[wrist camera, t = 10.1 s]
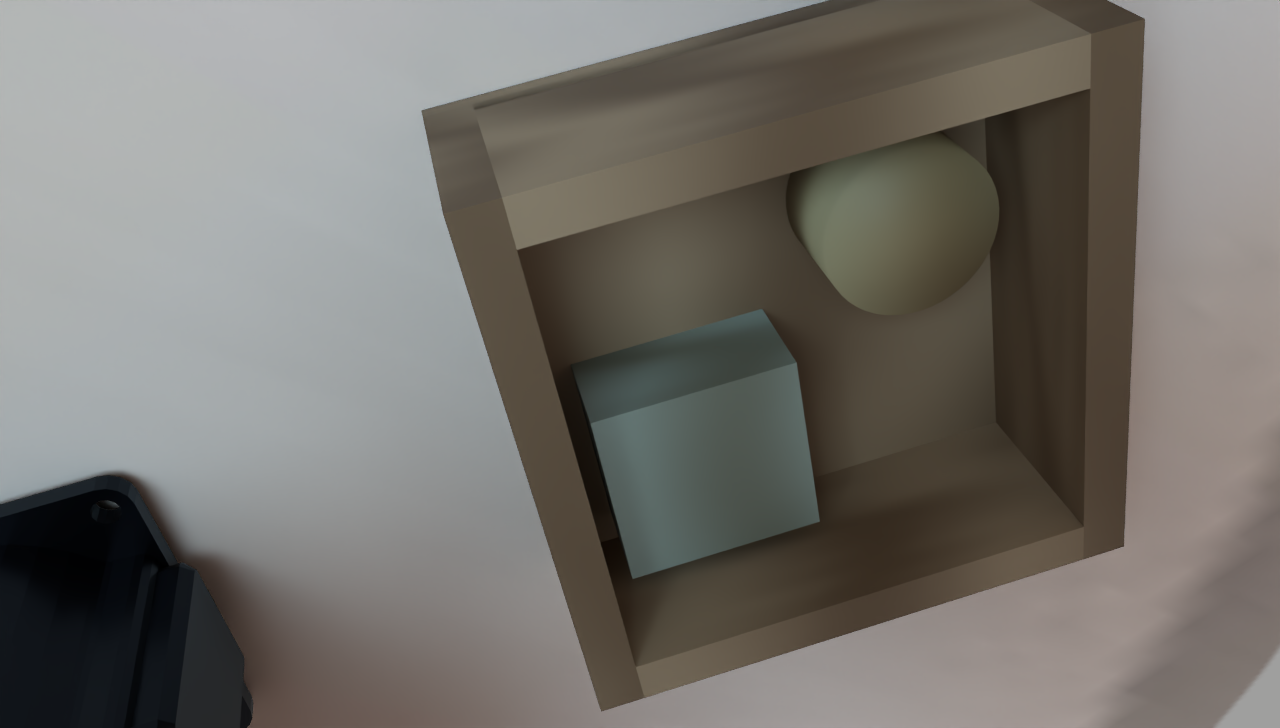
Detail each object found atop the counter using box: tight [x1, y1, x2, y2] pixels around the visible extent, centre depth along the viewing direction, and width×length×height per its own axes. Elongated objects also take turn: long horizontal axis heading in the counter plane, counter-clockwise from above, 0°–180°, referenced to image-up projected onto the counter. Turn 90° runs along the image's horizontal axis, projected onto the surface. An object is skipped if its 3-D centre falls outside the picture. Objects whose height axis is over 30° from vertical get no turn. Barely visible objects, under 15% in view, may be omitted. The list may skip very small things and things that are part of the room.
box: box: [422, 0, 1145, 711], centre depth 21 cm, size 10×10×4 cm
